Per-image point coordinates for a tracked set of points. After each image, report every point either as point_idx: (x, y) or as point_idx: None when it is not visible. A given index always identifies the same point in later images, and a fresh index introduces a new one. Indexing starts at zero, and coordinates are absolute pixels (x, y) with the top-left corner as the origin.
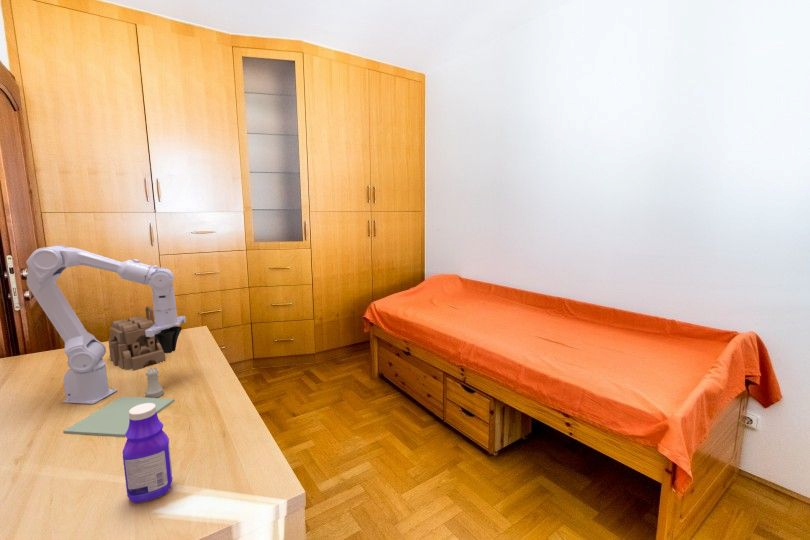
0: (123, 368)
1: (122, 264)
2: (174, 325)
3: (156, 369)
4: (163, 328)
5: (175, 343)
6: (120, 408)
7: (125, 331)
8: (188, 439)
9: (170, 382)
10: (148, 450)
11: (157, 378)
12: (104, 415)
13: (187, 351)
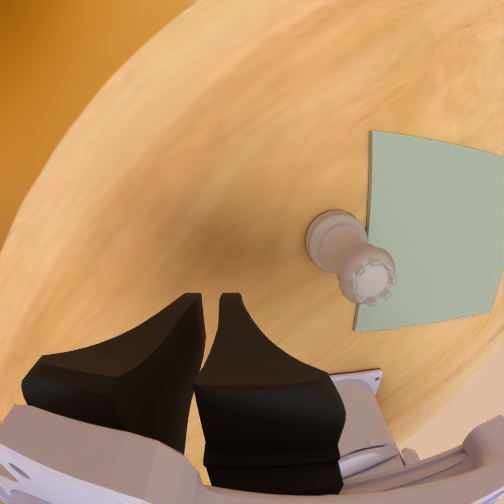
0: None
1: None
2: (200, 498)
3: (373, 261)
4: (416, 499)
5: (171, 313)
6: (427, 273)
7: None
8: (491, 19)
9: (220, 259)
10: None
11: (353, 244)
12: (454, 284)
13: (25, 355)
